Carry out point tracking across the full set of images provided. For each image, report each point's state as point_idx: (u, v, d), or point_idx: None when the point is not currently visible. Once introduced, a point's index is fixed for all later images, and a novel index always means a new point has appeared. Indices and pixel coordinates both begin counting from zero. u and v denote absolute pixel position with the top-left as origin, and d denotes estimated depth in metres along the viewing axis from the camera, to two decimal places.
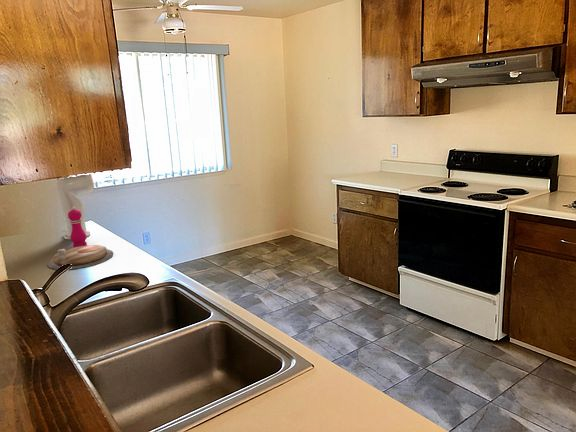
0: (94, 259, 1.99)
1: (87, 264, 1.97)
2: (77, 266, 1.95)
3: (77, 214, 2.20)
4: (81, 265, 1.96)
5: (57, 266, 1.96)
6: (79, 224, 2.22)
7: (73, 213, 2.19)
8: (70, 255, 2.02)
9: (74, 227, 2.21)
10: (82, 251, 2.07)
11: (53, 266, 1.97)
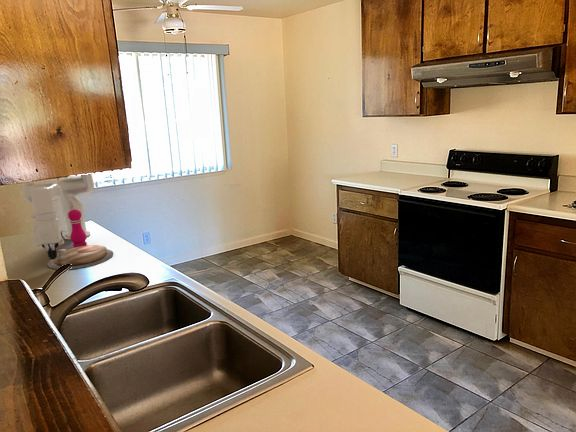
0: (95, 259, 2.00)
1: (87, 264, 1.97)
2: (77, 266, 1.95)
3: (77, 214, 2.20)
4: (81, 265, 1.96)
5: (57, 266, 1.96)
6: (79, 224, 2.22)
7: (73, 213, 2.19)
8: (70, 255, 2.02)
9: (74, 227, 2.21)
10: (82, 251, 2.07)
11: (53, 266, 1.97)
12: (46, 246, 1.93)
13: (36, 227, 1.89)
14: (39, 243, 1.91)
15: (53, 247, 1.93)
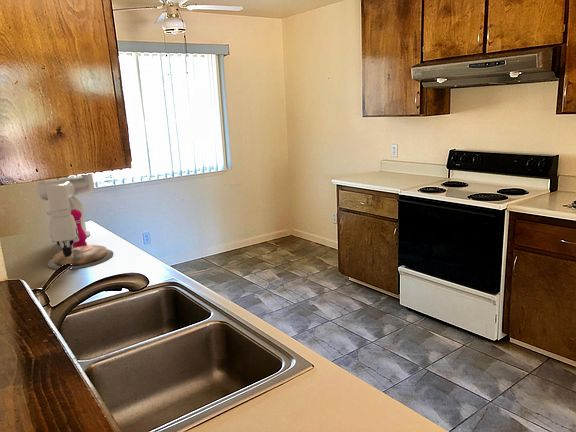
0: (105, 253, 2.06)
1: (87, 264, 1.97)
2: (77, 266, 1.95)
3: (77, 214, 2.20)
4: (81, 265, 1.96)
5: (57, 266, 1.96)
6: (79, 224, 2.22)
7: (73, 213, 2.19)
8: None
9: None
10: None
11: (53, 266, 1.97)
12: (61, 243, 1.92)
13: (51, 224, 1.89)
14: (54, 240, 1.90)
15: (68, 244, 1.93)
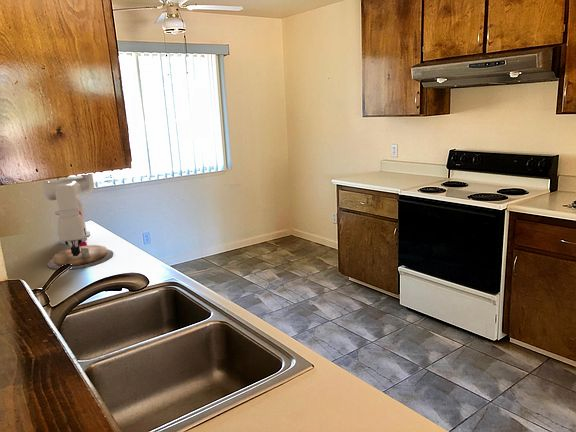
0: None
1: (87, 264, 1.97)
2: (77, 266, 1.95)
3: None
4: (81, 265, 1.96)
5: (57, 266, 1.96)
6: None
7: None
8: (79, 255, 2.01)
9: None
10: None
11: (53, 266, 1.97)
12: (69, 243, 1.93)
13: (60, 224, 1.90)
14: (63, 240, 1.91)
15: (76, 244, 1.94)
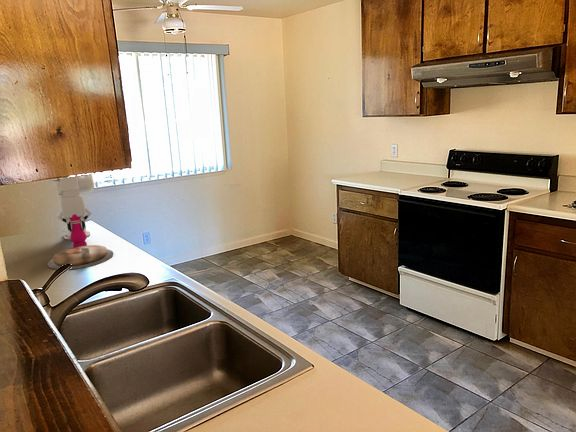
0: None
1: (87, 264, 1.97)
2: (77, 266, 1.95)
3: None
4: (81, 265, 1.96)
5: (57, 266, 1.96)
6: (79, 224, 2.22)
7: None
8: (79, 255, 2.02)
9: (74, 227, 2.21)
10: (79, 251, 2.06)
11: (53, 266, 1.97)
12: (68, 220, 2.20)
13: (64, 203, 2.17)
14: (67, 217, 2.18)
15: (84, 219, 2.23)
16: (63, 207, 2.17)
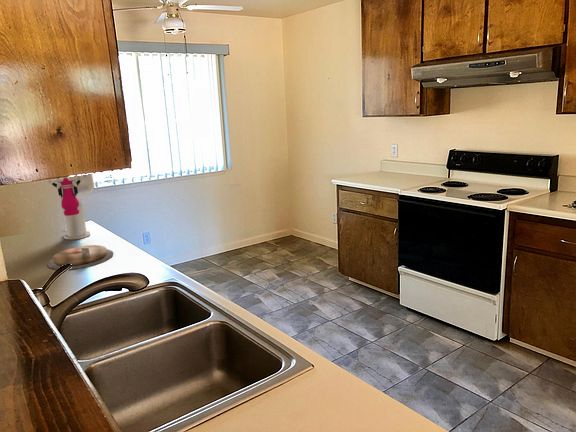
0: None
1: (87, 264, 1.97)
2: (77, 266, 1.95)
3: None
4: (81, 265, 1.96)
5: (57, 266, 1.96)
6: (71, 189, 2.04)
7: None
8: (79, 255, 2.02)
9: (65, 192, 2.03)
10: (79, 251, 2.06)
11: (53, 266, 1.97)
12: (58, 184, 2.02)
13: None
14: (57, 180, 2.00)
15: (76, 184, 2.05)
16: None
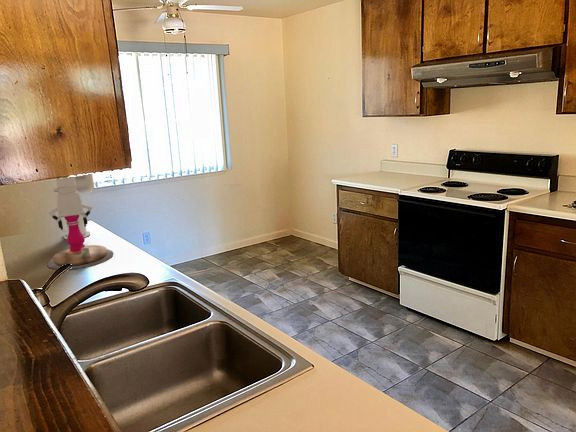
0: None
1: (87, 264, 1.97)
2: (77, 266, 1.95)
3: None
4: (81, 265, 1.96)
5: (57, 266, 1.96)
6: (76, 226, 2.06)
7: None
8: (79, 255, 2.02)
9: (71, 228, 2.05)
10: (79, 251, 2.06)
11: (53, 266, 1.97)
12: (60, 217, 2.03)
13: (60, 200, 2.00)
14: (63, 215, 2.02)
15: (85, 215, 2.07)
16: (59, 205, 2.00)
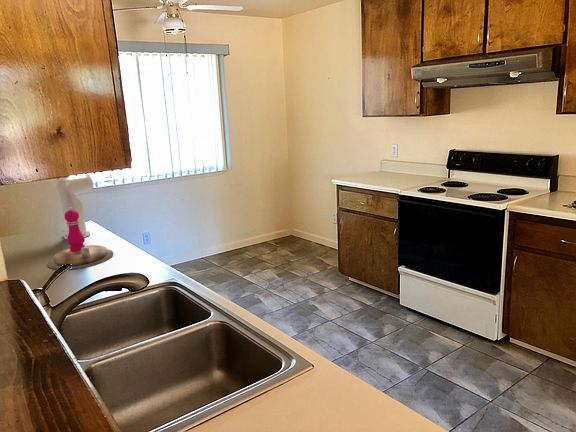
0: None
1: (87, 264, 1.97)
2: (77, 266, 1.95)
3: (74, 215, 2.04)
4: (81, 265, 1.96)
5: (57, 266, 1.96)
6: (76, 226, 2.06)
7: (70, 214, 2.03)
8: (79, 255, 2.02)
9: (71, 228, 2.05)
10: (79, 251, 2.06)
11: (53, 266, 1.97)
12: None
13: None
14: None
15: None
16: None
